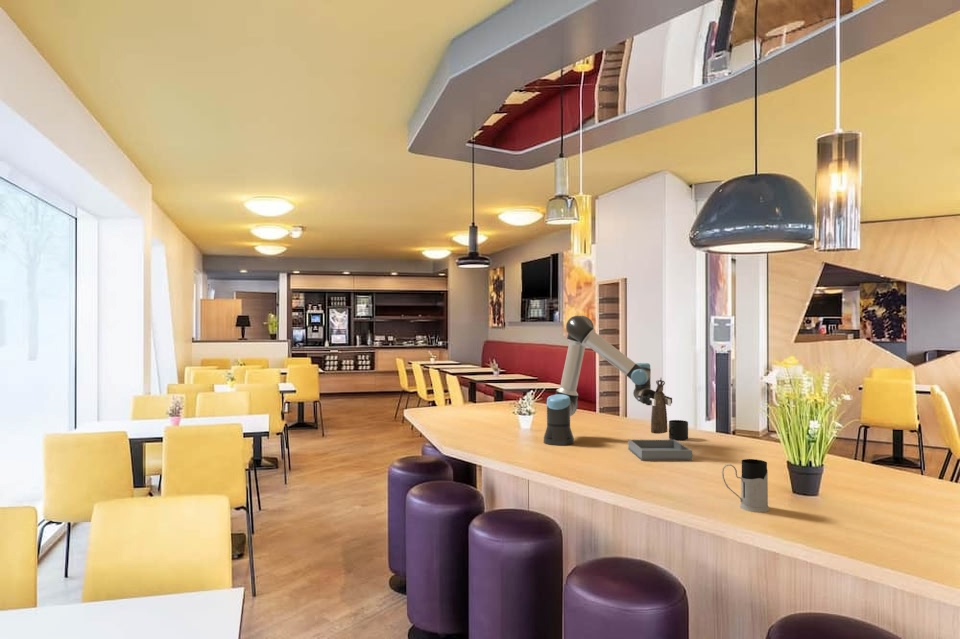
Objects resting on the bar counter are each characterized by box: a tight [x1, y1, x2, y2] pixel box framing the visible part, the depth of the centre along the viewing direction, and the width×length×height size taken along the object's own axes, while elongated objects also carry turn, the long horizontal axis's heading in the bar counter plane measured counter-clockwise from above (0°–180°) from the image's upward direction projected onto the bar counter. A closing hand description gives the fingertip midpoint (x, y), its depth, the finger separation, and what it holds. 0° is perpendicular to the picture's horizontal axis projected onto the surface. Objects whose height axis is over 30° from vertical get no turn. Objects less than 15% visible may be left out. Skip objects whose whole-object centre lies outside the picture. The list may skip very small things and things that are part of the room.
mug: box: [668, 419, 689, 442], centre depth 312 cm, size 9×12×9 cm
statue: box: [650, 377, 668, 435], centre depth 275 cm, size 9×8×25 cm
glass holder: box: [721, 458, 770, 513], centre depth 196 cm, size 9×14×15 cm, turn 80°
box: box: [627, 439, 693, 462], centre depth 275 cm, size 22×24×4 cm
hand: (662, 402), depth 270 cm, fingers closed on statue, 6 cm apart
